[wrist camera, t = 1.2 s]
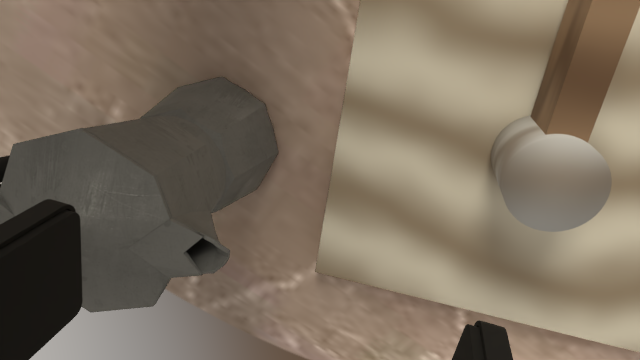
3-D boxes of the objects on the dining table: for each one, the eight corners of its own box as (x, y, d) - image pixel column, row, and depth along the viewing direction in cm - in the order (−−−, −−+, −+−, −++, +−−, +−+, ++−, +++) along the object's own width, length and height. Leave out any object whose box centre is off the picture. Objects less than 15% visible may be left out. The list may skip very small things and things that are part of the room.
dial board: (379, -91, 28) (375, -98, 26) (842, -30, 24) (879, -32, 22) (320, 258, 37) (314, 273, 35) (649, 338, 33) (662, 360, 31)
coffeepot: (314, 91, 32) (195, 189, 16) (297, 213, 36) (186, 396, 19) (110, 53, 34) (-180, 104, 18) (114, 172, 38) (-125, 304, 22)
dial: (563, 201, 29) (589, 241, 24) (480, 184, 30) (490, 219, 25) (650, -28, 24) (705, -34, 19) (549, -42, 25) (577, -52, 20)
